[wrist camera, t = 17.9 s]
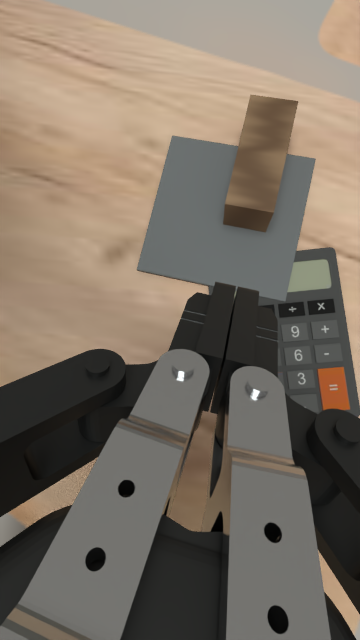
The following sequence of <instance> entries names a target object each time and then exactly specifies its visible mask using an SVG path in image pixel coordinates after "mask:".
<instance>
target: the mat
mask: <svg viewBox="0 0 360 640" xmlns="http://www.w3.org/2000/svg"><path fill="white" fill-rule="evenodd" d="M237 151H238V146H233V145H227V144H221V143H215V142H209V141H202V140H196V139H190V138H184V137H178V136H172V139H171V142H170V146H169V150H168V154H167V157H166V161H165V165H164V169H163V173H162V176H161V180H160V184H159V188H158V191H157V195H156V199H155V203H154V207H153V210H152V214H151V218H150V222H149V225H148V229H147V233H146V237H145V241H144V244H143V248H142V252H141V256H140V260H139V263H138V267H137V270H138V271H142V272H147V273H151V274H156V275H160V276H165V277H170V278H174V279H179V280H184V281H188V282H193V283H197V284H202V285H207V286H208V285H210V286H214V285H215V282H220V283H225V284H229V285H234V286H236V290H235V291H237V288H238V286H239V287H243V288H248V289H252V290H257V291H259V296H261V297H266V298H270V299H275V300H279V301H284V302H285V301H286V296H287V291H288V286H289V282H290V277H291V272H292V268H293V263H294V258H295V253H296V249H297V244H298V239H299V235H300V230H301V225H302V221H303V216H304V211H305V206H306V202H307V197H308V192H309V188H310V183H311V178H312V173H313V169H314V164H315V159H314V158H308V157H302V156H295V155H289V154H287V155H286V159H285V164H284V169H283V173H282V178H281V182H280V187H279V191H278V196H277V201H276V205H275V210H274V214H273V216H272V218H271V221H270V223H269V225H268V228H267V230H266V232H261V231H255V230H250V229H245V228H239V227H234V226H229V225H224V224H223V220H224V208H225V201H226V197H227V193H228V189H229V184H230V180H231V176H232V172H233V168H234V163H235V159H236V155H237Z"/></svg>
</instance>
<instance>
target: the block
mask: <svg viewBox="0 0 360 640" xmlns="http://www.w3.org/2000/svg"><path fill="white" fill-rule="evenodd" d="M297 105H298V101H292V100H285V99H278V98H271V97H263V96H256V95H251V96H250V100H249V104H248V108H247V112H246V117H245V121H244V125H243V129H242V134H241V138H240V142H239V146H238V151H237V155H236V159H235V163H234V168H233V172H232V176H231V180H230V184H229V189H228V193H227V197H226V201H225V208H224V220H223V224H224V225H229V226H234V227H239V228H245V229H250V230H255V231H261V232H266V230H267V228H268V225H269V223H270V221H271V218H272V216H273V214H274V210H275V205H276V201H277V196H278V191H279V187H280V182H281V178H282V173H283V169H284V164H285V159H286V155H287V150H288V146H289V141H290V137H291V132H292V127H293V123H294V118H295V114H296V109H297Z"/></svg>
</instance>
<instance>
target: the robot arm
mask: <svg viewBox="0 0 360 640" xmlns="http://www.w3.org/2000/svg"><path fill="white" fill-rule="evenodd" d="M235 290H236V286H234V285H229V284H225V283H220V282H215V285H214V288H213V292H212V295H207V294H202V293H198V292H197V293H196V294H194V295H193V296H192V297H191V298H189V299H188V301H187V303H186V306H185V309H184V311H183V314H182V317H181V319H180V322H179V325H178V327H177V330H176V332H175V335H174V338H173V340H172V343H171V346H170V348H169V350H168V352H166V353H164V354H163V355H162V356H161V357H160V358H159V360H158V361H155V362H152V363H149V364H134V365H125V362H124V360H123V359H122V357H121V356H120V355H118V354H117V353H115V352H113V351H110V350H106V349H94V350H89V351H86V352H84V353H81V354H79V355H76V356H74V357H72V358H69V359H67V360H64V361H62V362H60V363H57V364H55V365H52V366H50V367H47V368H45V369H43V370H40V371H38V372H35V373H33V374H31V375H28V376H26V377H23V378H21V379H19V380H16V381H14V382H11V383H9V384H6V385H4V386H2V387H0V517H1V516H3V515H4V514H6V513H8V512H9V511H11V510H13V509H14V508H16V507H17V506H19V505H21V504H22V503H24V502H26V501H27V500H29V499H30V498H32V497H34V496H35V495H37V494H39V493H40V492H42V491H43V490H45V489H47V488H48V487H50V486H52V485H53V484H55V483H56V482H58V481H60V480H61V479H63V478H65V477H66V476H68V475H69V474H71V473H73V472H74V471H76V470H78V469H79V468H81V467H82V466H84V465H86V464H87V463H89V462H91V461H92V460H94V459H95V458H97V457H98V459H97V461H96V463H95V464H94V466H93V468H92V470H91V472H90V474H89V476H88V477H87V479H86V481H85V483H84V485H83V487H82V488H81V490H80V492H79V494H78V496H77V498H76V499H75V501H74V503H73V505H70V506H67V507H64V508H62V509H59V510H57V511H54V512H52V513H50V514H48V515H47V516H45V517H43V518H41V519H40V520H38V521H37V522H35V523H34V524H32V525H31V526H29V527H28V528H26V529H25V530H24V531H22V532H21V533H19V534H18V535H17V536H15V537H14V538H12V539H11V540H10V541H8V542H7V543H5V544H4V545H2V546H1V547H0V640H356V638H355V636H354V635H353V633H352V631H351V630H350V628H349V626H348V624H347V623H346V621H345V620H344V618H343V616H342V615H341V613H340V612H339V610H338V609H337V608H336V606H335V605H334V603H333V602H332V601H331V599H330V598H329V597H328V596H327V594H326V593H325V592H324V589H323V582H322V575H321V568H320V562H319V555H318V550H319V552H320V553H321V555H322V556H323V558H324V559H325V561H326V563H327V564H328V566H329V567H330V569H331V570H332V572H333V573H334V575H335V577H336V578H337V580H338V581H339V583H340V584H341V586H342V587H343V589H344V591H345V592H346V594H347V595H348V597H349V598H350V600H351V601H352V603H353V605H354V606H355V608H356V609H357V611H358V612H359V614H360V419H359V418H358V417H356V416H355V415H353V414H351V413H349V412H347V411H344V410H340V409H333V408H332V409H326V410H323V411H321V412H320V413H319V414H317V413H315V412H313V411H311V410H309V409H307V408H305V407H304V406H302V405H300V404H298V403H297V402H295V401H294V400H292V399H291V398H290V397H289V396H288V395H287V394H286V393H285V391H284V387H283V385H282V383H281V382H280V380H279V379H278V342H277V340H278V333H277V331H278V319H277V318H276V316H275V314H274V313H273V311H272V309H270V308H265V307H261V306H258V302H259V291H257V290H252V289H248V288H243V287H239V286H238V288H237V291H236V295H235ZM234 296H235V298H234ZM233 301H234V302H233ZM214 389H215V390H214ZM213 392H214V395H213ZM212 396H213V401H212V406H211V411H210V412H211V413H215V414H218V415H217V421H216V426H215V429H214V433H213V436H212V444H211V455H210V466H209V477H208V489H207V499H206V507H205V512H204V517H203V522H202V529H201V532H194V531H190V530H188V529H186V528H184V527H183V526H181V525H180V524H178V523H176V522H175V521H173V520H172V519H170V518H169V515H170V511H171V508H172V504H173V501H174V497H175V494H176V491H177V487H178V484H179V481H180V478H181V475H182V471H183V468H184V465H185V462H186V459H187V456H188V452H189V449H190V446H191V443H192V440H193V437H194V433H195V431H196V430H197V428H198V426H199V423H200V419H201V415H202V411H207V412H208V410H209V407H210V403H211V399H212Z"/></svg>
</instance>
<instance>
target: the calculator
mask: <svg viewBox="0 0 360 640" xmlns="http://www.w3.org/2000/svg"><path fill="white" fill-rule="evenodd" d="M208 286H209V295H212V292H213V288H214V286H210V285H208ZM235 295H236V291H235ZM234 298H235V296H234ZM233 302H234V301H233ZM258 306H261V307H265V308H270V309H272V311H273V313H274V314H275V316H276V318H277V319H278V331H277V333H278V340H277V342H278V379H279V380H280V382H281V383H282V385H283V387H284V391H285V393H286V394H287V395H288V396H289V397H290V398H291V399H292V400H294V401H295V402H297V403H298V404H300V405H302V406H304V407H305V408H307V409H309V410H311V411H313V412H315V413H317V414H319V413H320V412H321V411H323V410H326V409H332V408H333V409H340V410H344V411H347V412H349V413H351V414H353V415H355V416H356V417H359V415H360V406H359V400H358V393H357V387H356V381H355V374H354V368H353V361H352V355H351V349H350V342H349V336H348V329H347V323H346V317H345V310H344V304H343V297H342V291H341V285H340V278H339V272H338V265H337V259H336V253H335V250H334V249H333V248H330V247H329V248H320V249H311V250H302V251H296V253H295V258H294V263H293V268H292V272H291V277H290V282H289V286H288V291H287V296H286V301H285V302H284V301H279V300H275V299H270V298H266V297H261V296H259V302H258Z"/></svg>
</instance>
